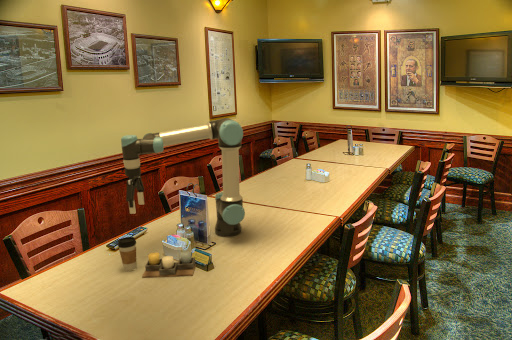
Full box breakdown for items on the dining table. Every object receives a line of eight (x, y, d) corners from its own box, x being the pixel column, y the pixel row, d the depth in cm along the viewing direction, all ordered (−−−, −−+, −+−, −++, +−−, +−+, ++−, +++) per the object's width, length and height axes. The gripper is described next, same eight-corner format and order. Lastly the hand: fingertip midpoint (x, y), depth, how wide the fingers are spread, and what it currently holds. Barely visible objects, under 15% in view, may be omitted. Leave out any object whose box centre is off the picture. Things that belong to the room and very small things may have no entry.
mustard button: (161, 260, 210) (160, 252, 209) (158, 264, 205) (157, 256, 204) (150, 260, 210) (149, 252, 209) (148, 265, 206) (147, 257, 205)
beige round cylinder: (174, 263, 206) (174, 255, 205) (172, 268, 201) (172, 260, 200) (164, 264, 206) (163, 256, 205) (161, 268, 201) (161, 260, 200)
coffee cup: (117, 269, 210) (113, 240, 207) (132, 262, 217) (128, 234, 213) (128, 274, 205) (124, 244, 202) (143, 266, 212) (139, 237, 208)
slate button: (192, 258, 210) (191, 250, 209) (190, 263, 205) (190, 255, 204) (181, 259, 210) (181, 251, 209) (180, 263, 205) (179, 255, 204)
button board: (196, 263, 213) (196, 256, 212) (192, 275, 200) (192, 268, 199) (149, 265, 213) (148, 258, 212) (142, 278, 201) (141, 271, 200)
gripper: (133, 161, 227) (137, 201, 232) (115, 174, 202) (121, 217, 208) (147, 161, 226) (151, 200, 231) (131, 173, 202) (136, 217, 207)
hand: (137, 208), depth 219 cm, fingers open, 13 cm apart
